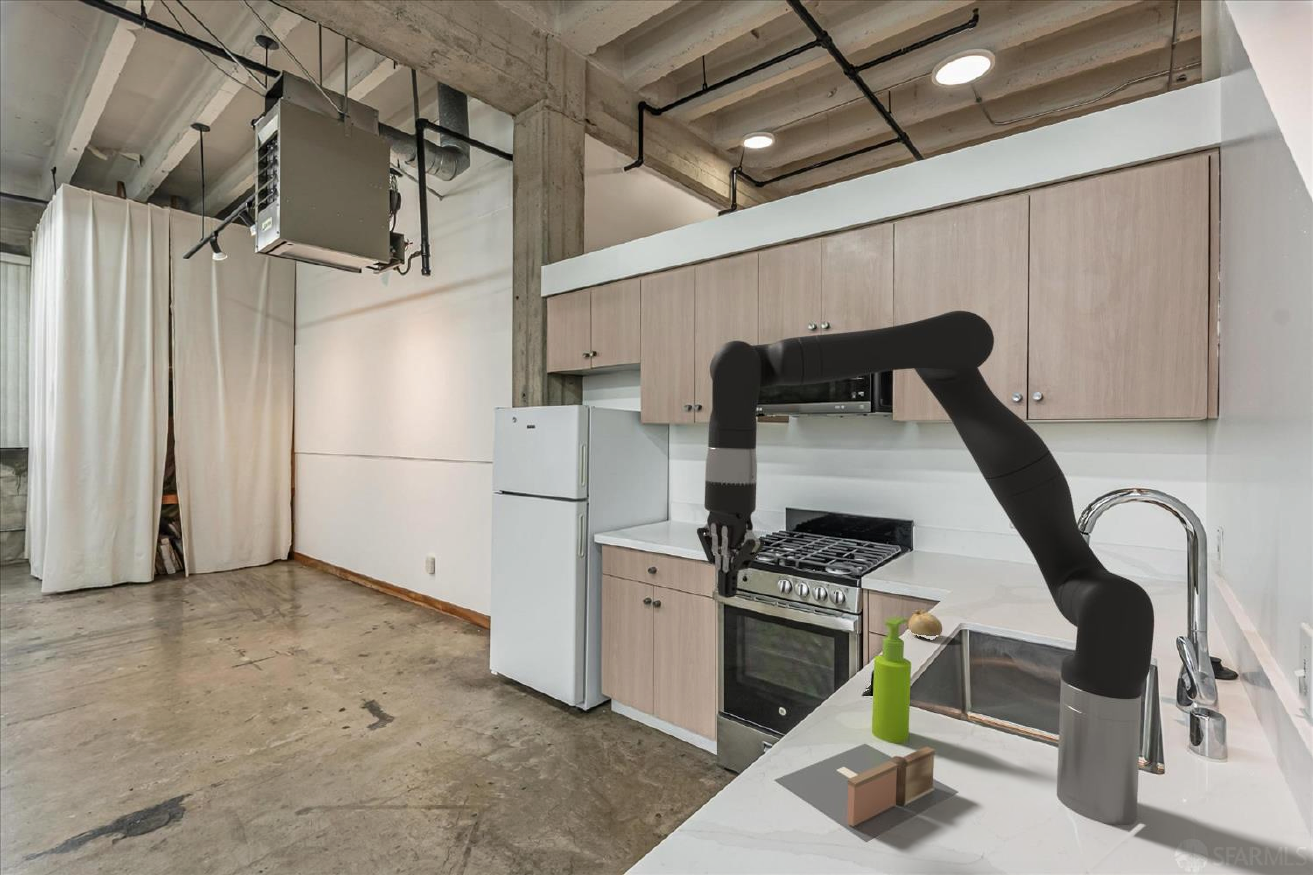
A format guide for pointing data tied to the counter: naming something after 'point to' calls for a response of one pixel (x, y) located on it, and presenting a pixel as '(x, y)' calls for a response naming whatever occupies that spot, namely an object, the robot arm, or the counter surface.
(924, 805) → the card
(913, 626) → the onion
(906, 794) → the fixed fence section
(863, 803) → the hinged fence section
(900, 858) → the counter surface
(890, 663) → the soap dispenser
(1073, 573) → the robot arm
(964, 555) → the counter surface
